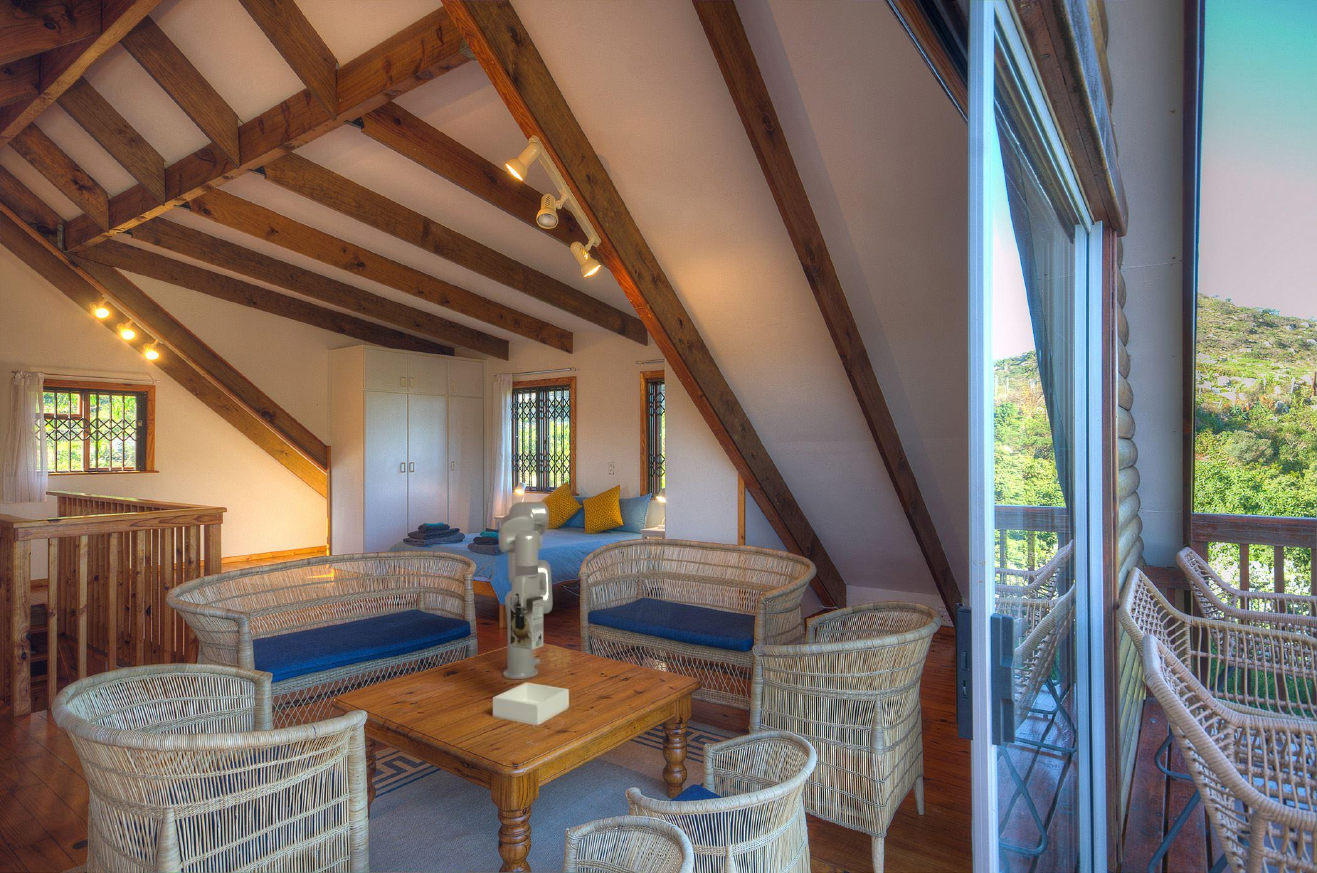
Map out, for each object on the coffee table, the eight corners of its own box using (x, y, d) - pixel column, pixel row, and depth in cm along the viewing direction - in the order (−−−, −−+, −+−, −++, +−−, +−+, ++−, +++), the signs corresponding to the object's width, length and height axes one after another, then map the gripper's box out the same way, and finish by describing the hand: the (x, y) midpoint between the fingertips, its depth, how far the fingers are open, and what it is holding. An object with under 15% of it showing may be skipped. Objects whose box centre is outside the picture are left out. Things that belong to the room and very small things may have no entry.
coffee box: (509, 647, 239) (509, 597, 239) (522, 643, 244) (521, 593, 245) (532, 650, 234) (531, 599, 235) (544, 645, 240) (544, 595, 241)
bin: (526, 700, 246) (526, 682, 246) (568, 707, 238) (568, 689, 238) (492, 716, 231) (492, 697, 231) (537, 725, 223) (537, 705, 223)
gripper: (533, 567, 250) (533, 620, 249) (500, 573, 234) (500, 630, 234) (551, 568, 246) (552, 622, 245) (519, 575, 231) (519, 632, 230)
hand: (526, 625), depth 240 cm, fingers closed on coffee box, 6 cm apart
